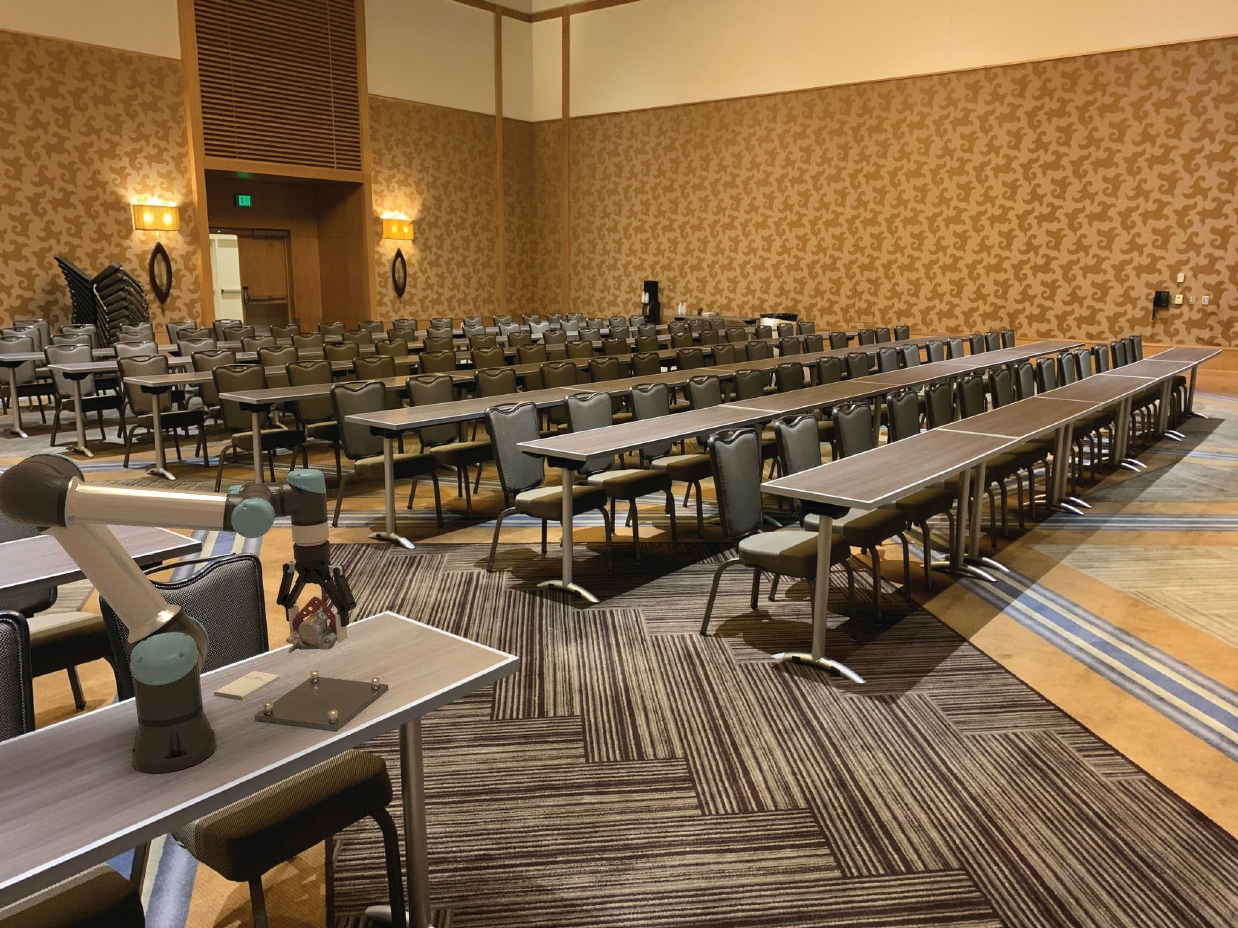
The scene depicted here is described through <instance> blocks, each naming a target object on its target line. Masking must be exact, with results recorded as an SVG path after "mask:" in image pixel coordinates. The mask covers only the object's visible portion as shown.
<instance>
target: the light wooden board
mask: <svg viewBox="0 0 1238 928" xmlns="http://www.w3.org/2000/svg"><path fill="white" fill-rule="evenodd" d="M278 679H279V680H280V679H281V675H279V674H276V673H270V672H269V673H268V672H261V671H255V670H253V671H251V672H249V673H247V674H246V675H243V676H241V677H240V678H238V679H236V680H233V681H232V682H230V683H228V684H226V685H224V686H223V687H220V688H219V689H217V690H214V692H213V696H215V697H220V698H225V697H227V699H231V698H232V700H237V699H238V700H237V701H244V700H246V699H247V698H250V697H251V696H253V695H255V694H256V693H258V692H260V691H262V690H263V689H265V688H267V687H268V686H270V685H272V684H273V683H275V682H277V681H278ZM274 681H275V682H274ZM271 683H272V684H271ZM266 686H267V687H266ZM264 687H265V688H264Z"/></svg>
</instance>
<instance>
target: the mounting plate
mask: <svg viewBox="0 0 1238 928" xmlns="http://www.w3.org/2000/svg"><path fill="white" fill-rule="evenodd" d="M387 691H389V684H387V683H386V684H385V683H381V680H380V677H377V676H376V677H375V676H374V677H372V678H371V679H370V681H369V682H368V681H359V680H349V679H341V678H334V677H325V676H320V671H319V670H311V671H310V672H309V678H308V679H306V680H305V681H303V682H301V683H300V684H299V685H297V686H296V687H294V688H293V689H292V690H290V691H288V692H287V693H286V694H283V696H281V697H280V698H278V699H277V700H275V701H265V702H263V703H262V708H263V709H262V710H260V711H259V712H257V713H256V714H254V721H257V722H264V723H271V724H277V725H278V724H280V725H286V726H295V727H302V728H308V729H317V730H325V731H333V732H338V731H339V730H340V729H341V728H343V727H344V726H345V725H346V724H348V723H349V722H350V721H351V720H352V719H354V718H355V717H356V716H358V714H360V713H361V712H362V711H363V710H365V709H366V708H368V707H369V706H370V705H371V704H372V703H374V702H375V701H376V700H378V698H380V697H381V696H382V695H383V694H385V693H386V692H387Z"/></svg>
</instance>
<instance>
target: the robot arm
mask: <svg viewBox="0 0 1238 928" xmlns="http://www.w3.org/2000/svg"><path fill="white" fill-rule="evenodd" d="M85 479H86V478H85V475H84V472H83V470H82V468H81V467H80V466H79V465H78V463H77V462H76V461H74V460H73V459H72V458H70V457H68V456H66V455H64V454H60V453H57V452H56V453H55V452H54V453H53V452H43V453H37V454H32V455H31V456H29V457H25V458H24V459H23V460H21V461H20V462H18V463H17V464H15V465H12V466H11V467H9V468H8V469H6V470H5V471H4V472H2V473H1V474H0V514H2V516H4V518H7V519H8V520H10V521H11V522H13V523H16V524H19V525H23V526H31V527H34V528H35V529H36V531H37V532H38V533H39V534H40V535H43V536H44V535H45V536H51V537H53V538H54V539H55V540H56V541H57V542H58V544H59V545H60V546H61V548H63V550H64V551H65V553H66V554H68V556H69V557H70V559H72V561H73V562H74V563H75V565H76V566H77V567H78V569H79V570H80V571H81V572H82V573H83V574H84V575H85V577H86V578H87V579H88V580H89V582H90V583H91V584H92V586H93V587H94V588H95V589H96V590H97V592H98V593H99V595H101V596H102V599H104V601H105V602H106V603H107V605H108V606H109V607H110V608H111V609H112V610H113V612H114V613H115V614H116V615H117V617H118V618H119V619H120V620H121V622H122V623H123V624H124V625H125V626H126V628H127V629H128V631H129V632H128V637H127V643H129V645H131V647H132V648H133V649H132V651H131V654H130V663H129V666H130V672H131V674H132V684H133V689H134V690H133V692H134V698H135V707H136V714H137V722H138V723H137V724H138V726H137V729H136V734H135V738H134V743H133V747H132V749H131V758H132V759H131V761H132V765H133V767H134V768H135V769H136V770H138V771H139V772H144V773H151V774H153V773H154V774H158V773H169V772H170V773H171V772H175V771H179V770H183V769H187V768H189V767H192V766H195V765H197V764H199V763H201V762H203V761H204V760H206V759H208V758H209V757H210V756H211V755H213V753H214V752H215V751H216V750H217V746H218V743H217V736H216V732H215V731H214V730H213V728H212V726H211V724H210V721H209V719H208V718H207V716H206V714H205V710H204V704H203V695H202V685H201V673H202V670H203V667H204V665H205V661H206V659H207V657H208V654H209V649H210V643H209V642H210V641H209V635H208V632H207V630H206V627H204V625H203V623H201V622H200V621H199V620H197V619H195V618H194V617H192V616H188V614H186V612H185V611H184V610H183V608H182V607H181V606H180V605H178V604H170V603H168V602H167V601H166V599H165V598H164V596H163V595H162V594H161V593H160V592H159V591H158V589H157V587H155V586H154V584H153V583H152V582H151V580H150V579H149V578H148V576H146V573H144V571H143V570H142V569H141V568H140V567H139V565H138V564H137V563H136V561H135V559H133V558H132V557H131V555H130V554H129V552H128V551H127V550H126V548H125V547H124V545H122V544H121V542H120V541H119V540H118V539H117V537H116V535H115V534H114V533H113V532H112V530H111V529H110V528H109V526H110V525H113V526H124V527H125V526H126V527H143V528H159V529H160V528H161V529H162V528H163V529H175V530H176V529H178V530H190V531H191V530H193V531H207V532H212V531H213V532H225V533H226V532H227V533H236V534H238V535H240V536H241V537H244V538H246V539H258V538H260V537H262V536H264V535H266V534H267V533H268V532H269V531H270V529H271V528H272V526H273V525H274V522H275V521H276V518H287V517H290V525H291V527H290V528H291V537H292V539H291V541H292V542H293V545H292V547H293V560H294V561H295V562H294V561H292V560H290V561H287V562H285V563H284V564H282V577H281V580H280V586H279V589H278V593H277V598H276V601H275V602H276V605H278V606H283V608H284V609H285V619H286V622H287V623H288V626H289V636H290V635H291V634H292V633H293V632H294V626H293V619H294V618H295V616H296V615H297V614H298V613H299V612H300V608H299V604H298V605H297V600H299V597H300V595H301V594H302V591H303V590H304V588H305V586H306V585H309V584H313V585H318V586H320V588H322V589H323V590H324V592H325V593H326V595H327V596H328V598H329V599H330V601H331V603H333V605H334V607H335V609H336V610H337V612H336V613H334V614H335V617H336V630H337V641H336V643H342V642H344V641H346V640H347V639H348V628H347V627H348V626H349V625H350V615H349V614H350V613H349V612H350V611H352V610H354V609H356V608H357V603H356V601H355V600H356V599H355V597H354V595H353V593H352V590H351V587H350V584H349V582H348V580H347V577H346V574H345V573H346V572H345V566H344V564H340V565H332V563H331V543H330V540H329V539H330V532H329V531H330V530H329V520H328V519H329V518H328V516H329V515H328V501H327V489H326V480H325V475H324V472H322V471H321V470H320V469H315V468H301V469H295V470H292V471H289V472H288V474H287V478H286V480H283V481H277V482H261V483H260V482H259V483H242V484H236V485H231V486H229V487H228V488H227V492H214V491H213V492H212V491H201V490H187V489H178V488H177V489H175V488H162V487H151V486H150V487H149V486H137V485H136V486H135V485H123V484H111V483H100V482H99V483H98V482H86V480H85ZM108 525H109V526H108ZM295 572H297V574H298V576H297V578H296V580H295V581H294V576H295ZM293 581H294V585H293ZM292 585H293V587H292ZM297 623H298V622H297Z"/></svg>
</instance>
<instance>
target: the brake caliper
mask: <svg viewBox="0 0 1238 928" xmlns="http://www.w3.org/2000/svg"><path fill="white" fill-rule="evenodd" d="M309 608H311V609H309ZM323 609H324V610H323ZM327 620H329V622H328V623H327ZM297 622H298V623H297ZM327 624H328V625H329V626H328V625H327ZM293 626H294V632H293V633H292V634H291V635H290V634H289V635H288V637H287V638H286V639H285V641H286V643H288V644H290V645H293V646H291V647H290V648H289V649H287V650H288V652H287V653H288V654H292V653H293V652H295V651H296V650H300V651H303V650H323V651H325V650H326V651H328V650H331V649H332V648H333V647H334V646H335V644H336V643H337V630H336V617H335V613H334V612H333V611H332V609H331V608H329V607H328V605H326V603H324V601H322V599H321V598H320V597H319V596H313V597H312V598H311V599H310V600H308V602H307V603H306V604H305V606H303V607H302V608H301V610H299V613H298V614H297V615H296V616H295V618H294V619H293Z"/></svg>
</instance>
